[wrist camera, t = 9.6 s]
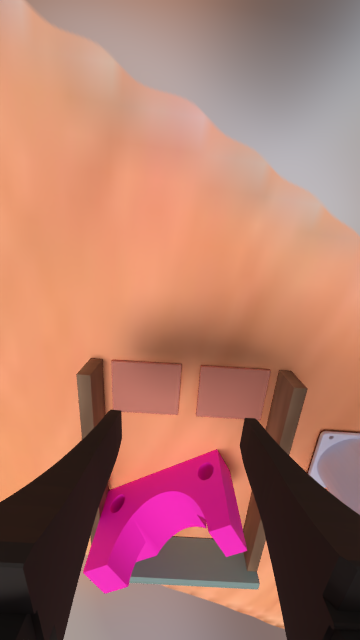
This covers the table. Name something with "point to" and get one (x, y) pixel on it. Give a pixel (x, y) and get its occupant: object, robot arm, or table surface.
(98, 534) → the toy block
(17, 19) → the table surface
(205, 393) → the trap squares
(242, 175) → the table surface
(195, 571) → the end stop
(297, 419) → the lane rails
